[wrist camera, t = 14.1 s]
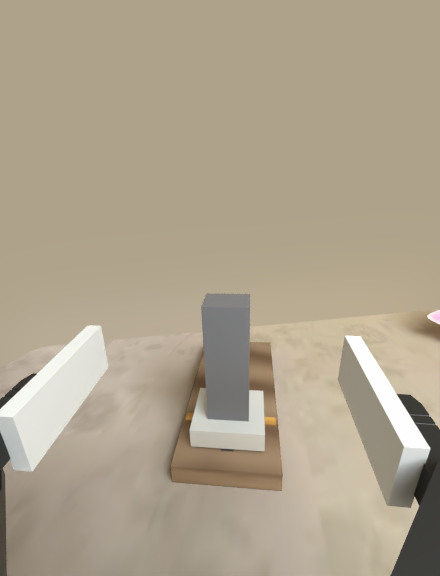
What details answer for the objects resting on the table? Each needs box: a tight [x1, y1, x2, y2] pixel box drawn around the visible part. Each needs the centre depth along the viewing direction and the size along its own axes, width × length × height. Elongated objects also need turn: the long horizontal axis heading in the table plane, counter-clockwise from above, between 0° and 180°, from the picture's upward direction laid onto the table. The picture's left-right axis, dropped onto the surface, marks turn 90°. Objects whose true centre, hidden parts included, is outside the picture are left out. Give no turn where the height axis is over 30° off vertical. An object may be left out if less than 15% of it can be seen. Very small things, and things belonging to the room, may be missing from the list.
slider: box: [189, 294, 265, 451], centre depth 29 cm, size 6×7×14 cm
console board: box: [171, 342, 283, 491], centre depth 37 cm, size 22×10×2 cm, turn 174°
